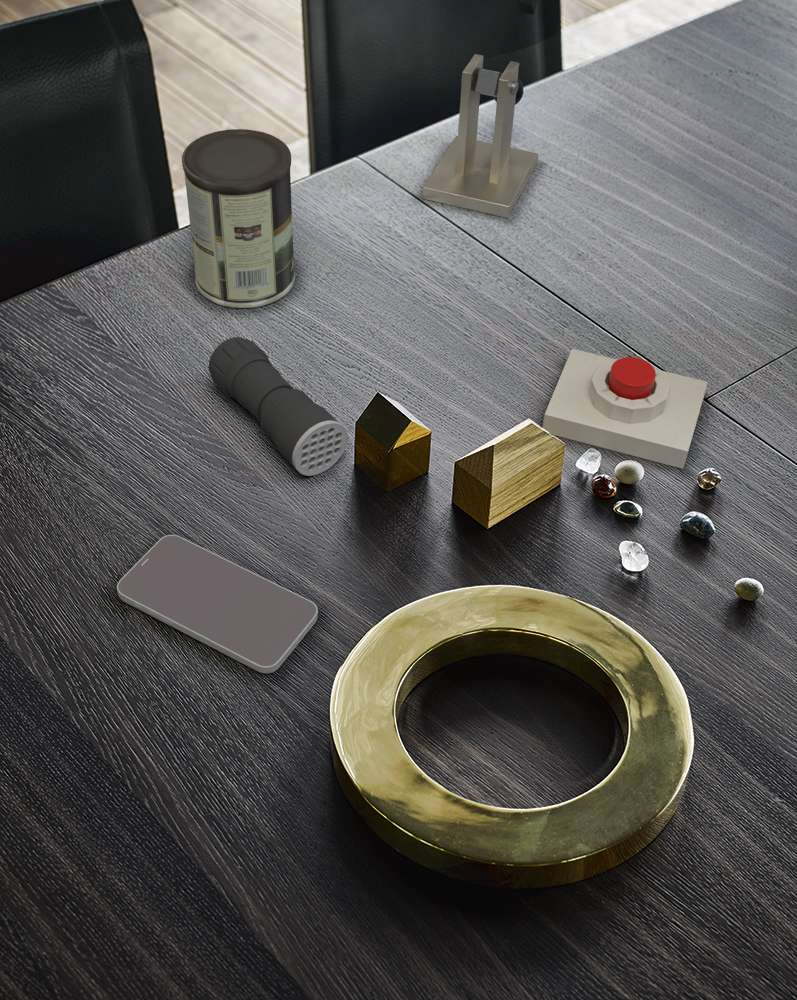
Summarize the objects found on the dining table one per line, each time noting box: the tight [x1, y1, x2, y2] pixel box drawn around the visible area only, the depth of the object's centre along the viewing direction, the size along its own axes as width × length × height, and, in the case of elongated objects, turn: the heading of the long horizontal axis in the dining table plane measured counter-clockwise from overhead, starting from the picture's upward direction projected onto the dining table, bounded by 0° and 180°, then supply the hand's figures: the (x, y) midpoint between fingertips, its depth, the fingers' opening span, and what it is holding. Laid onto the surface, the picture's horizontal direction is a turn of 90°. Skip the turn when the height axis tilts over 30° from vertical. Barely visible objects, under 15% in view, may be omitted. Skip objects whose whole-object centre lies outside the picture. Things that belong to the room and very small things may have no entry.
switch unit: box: [422, 53, 539, 219], centre depth 138 cm, size 12×10×14 cm
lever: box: [475, 68, 525, 106], centre depth 139 cm, size 13×4×4 cm, turn 161°
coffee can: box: [181, 128, 296, 309], centre depth 123 cm, size 10×10×14 cm
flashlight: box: [208, 336, 348, 477], centre depth 111 cm, size 15×5×5 cm, turn 37°
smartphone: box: [116, 534, 319, 674], centre depth 98 cm, size 7×1×15 cm
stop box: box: [542, 348, 709, 470], centre depth 114 cm, size 13×10×4 cm
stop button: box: [608, 356, 656, 400], centre depth 112 cm, size 4×4×2 cm
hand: (526, 8), depth 141 cm, fingers closed
